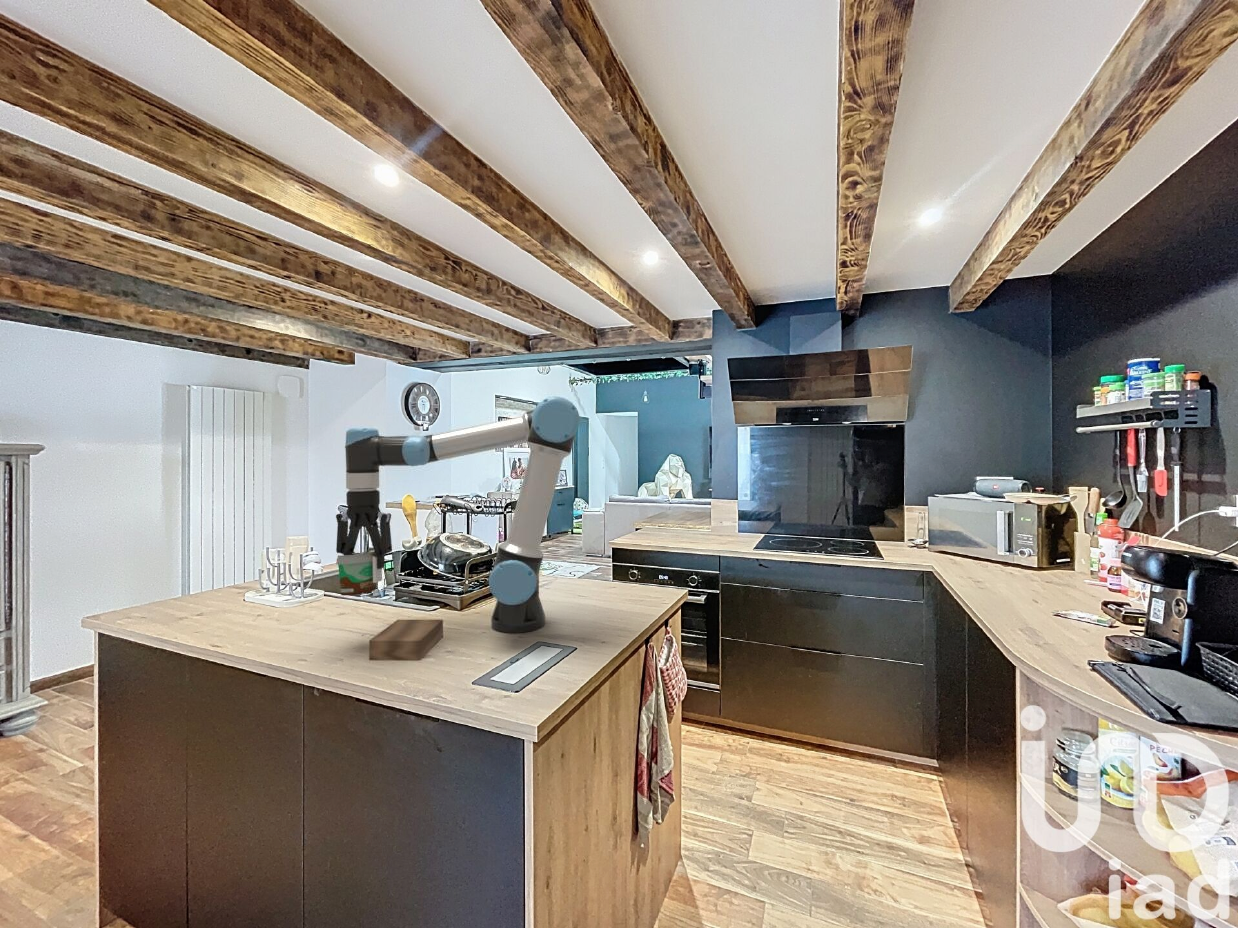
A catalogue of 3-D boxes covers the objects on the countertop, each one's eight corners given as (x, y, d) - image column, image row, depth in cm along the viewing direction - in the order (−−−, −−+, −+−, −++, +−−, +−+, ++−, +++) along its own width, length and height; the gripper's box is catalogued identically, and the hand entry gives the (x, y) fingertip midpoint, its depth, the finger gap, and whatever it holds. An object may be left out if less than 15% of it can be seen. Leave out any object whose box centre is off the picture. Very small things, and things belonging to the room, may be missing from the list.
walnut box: (442, 638, 140) (442, 619, 140) (420, 661, 124) (419, 640, 124) (397, 638, 140) (397, 619, 140) (369, 661, 124) (369, 640, 124)
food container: (359, 598, 126) (358, 556, 126) (336, 596, 127) (336, 555, 127) (391, 585, 138) (390, 547, 138) (370, 584, 139) (369, 546, 139)
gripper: (406, 488, 135) (408, 578, 135) (337, 488, 137) (339, 576, 138) (390, 490, 127) (392, 585, 128) (317, 490, 130) (319, 583, 130)
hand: (364, 580), depth 133 cm, fingers closed on food container, 6 cm apart
